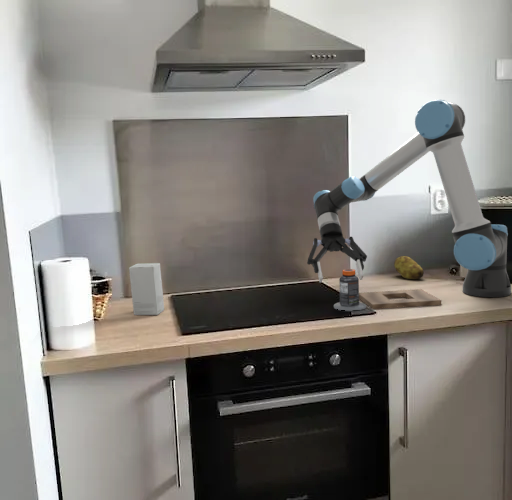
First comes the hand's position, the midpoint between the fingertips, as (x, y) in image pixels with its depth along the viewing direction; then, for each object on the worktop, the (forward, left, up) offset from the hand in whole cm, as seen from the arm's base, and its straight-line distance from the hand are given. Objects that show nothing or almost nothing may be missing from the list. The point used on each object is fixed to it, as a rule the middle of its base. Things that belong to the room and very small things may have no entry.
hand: (341, 279), depth 186 cm
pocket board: (-17, +6, -7) cm, 19 cm away
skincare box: (+63, +2, -7) cm, 63 cm away
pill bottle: (0, +10, -7) cm, 12 cm away
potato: (-33, -28, -7) cm, 44 cm away
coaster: (0, +10, -7) cm, 12 cm away
